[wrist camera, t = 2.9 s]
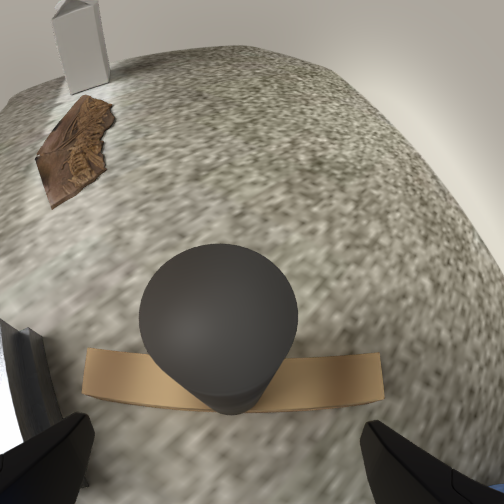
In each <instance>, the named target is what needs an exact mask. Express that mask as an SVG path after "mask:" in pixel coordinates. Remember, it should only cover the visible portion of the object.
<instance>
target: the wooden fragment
mask: <svg viewBox="0 0 504 504" xmlns="http://www.w3.org/2000/svg"><path fill="white" fill-rule="evenodd" d="M111 107H112V104H108V103H107V102H104V101H103V100H98V99H96V98H95V99H94V98H92V97H91V96H88V95H83V96H81V97H80V99H79V100H78V101H77V102H76V103H75V104H74V105H73V106H72V108H71V109H70V110H69V111H68V112H67V114H66V115H65V116H64V117H63V118H62V119H61V120H60V121H59V123H58V124H57V125H56V126H55V128H54V129H53V130H52V132H51V133H50V135H49V136H48V138H47V139H46V140H45V142H44V144H43V146H41V148H40V150H39V151H38V153H37V155H40V156H37V157H36V158H35V161H36V164H37V167H38V170H39V173H40V176H41V179H42V183H43V185H44V188H45V191H46V194H47V197H48V200H49V203H50V205H51V208H52V209H54V208H55V207H57V206H58V205H60V204H62V203H63V202H65V201H67V200H68V199H70V198H73V197H74V196H76V195H77V194H78V193H79V192H80V191H81V190H82V189H83V188H84V187H86V186H87V185H89V184H90V183H92V182H94V181H95V180H96V178H97V177H98V176H99V175H100V174H102V173H103V172H104V171H106V169H107V168H105V163H104V161H103V154H102V153H101V149H102V145H103V143H104V141H100V140H101V138H102V136H103V133H104V131H105V130H107V129H108V128H109V127H110V126H111V125H112V123H113V121H114V118H115V117H114V116H113V115H112V113H111V111H110V108H111Z"/></svg>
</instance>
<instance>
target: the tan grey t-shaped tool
mask: <svg viewBox="0 0 504 504" xmlns="http://www.w3.org/2000/svg"><path fill="white" fill-rule="evenodd" d="M297 325H298V308H297V302H296V298H295V295H294V292H293V290H292V287H291V285H290V283H289V282H288V280H287V278H286V277H285V275H284V274H283V273H282V272H281V271H280V269H279V268H278V267H277V266H276V265H275V264H273V263H272V262H271V261H270V260H268V259H267V258H266V257H264V256H262V255H261V254H259V253H257V252H255V251H253V250H250V249H248V248H244V247H241V246H237V245H231V244H208V245H202V246H198V247H194V248H191V249H189V250H186V251H184V252H182V253H180V254H178V255H176V256H174V257H173V258H171V259H170V260H169V261H167V262H166V263H165V264H164V265H163V266H161V267H160V269H159V270H158V271H157V272H156V273H155V274H154V276H153V277H152V278H151V280H150V281H149V283H148V285H147V287H146V289H145V291H144V294H143V296H142V299H141V304H140V309H139V328H140V332H141V337H142V340H143V343H144V345H145V348H146V349H147V351H148V353H149V354H138V353H128V352H119V351H110V350H102V349H95V348H87V355H86V362H85V369H84V377H83V385H82V394H85V395H88V396H91V397H94V398H97V399H100V400H106V401H111V402H117V403H124V404H131V405H138V406H146V407H154V408H163V409H174V410H186V411H201V412H218V413H221V414H225V415H237V414H241V413H268V412H293V411H309V410H321V409H332V408H341V407H349V406H357V405H364V404H369V403H373V402H376V401H379V400H383V399H385V397H384V387H383V378H382V370H381V362H380V354H379V352H378V353H368V354H357V355H344V356H330V357H312V358H286V359H285V357H286V355H287V353H288V352H289V350H290V348H291V346H292V343H293V341H294V338H295V335H296V331H297Z"/></svg>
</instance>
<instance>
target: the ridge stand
mask: <svg viewBox="0 0 504 504" xmlns="http://www.w3.org/2000/svg"><path fill="white" fill-rule="evenodd" d="M61 420H63V419H62V416H61V413H60V410H59V406H58V403H57V400H56V396H55V393H54V389H53V385H52V381H51V377H50V373H49V369H48V364H47V360H46V355H45V350H44V345H43V340H42V336H41V335H39V334H38V333H36V332H35V331H33V330H32V329H30V328H29V327H28V328H25V329H23V330H21V331H18V330H16V329H15V328H13V327H12V326H10V325H9V324H8V323H6V322H5V321H3V320H2V319H0V454H2V453H3V454H4V452H6V451H8V450H10V449H12V448H14V447H15V446H17V445H19V444H21V443H23V442H24V441H26V440H28V439H30V438H32V437H33V436H35V435H37V434H39V433H40V432H42V431H44V430H46V429H47V428H49V427H51V426H53V425H54V424H56V423H58V422H60V421H61ZM85 487H89V485H88V483H87V481H86V479H85V476H84V479H83V482H82V484H81V487H80V489H81V488H85Z"/></svg>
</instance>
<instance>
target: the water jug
mask: <svg viewBox="0 0 504 504" xmlns="http://www.w3.org/2000/svg"><path fill="white" fill-rule="evenodd" d="M488 487H491V488H493V489H495V490H498V491H500V492H503V493H504V484H496V485H492V486H488Z"/></svg>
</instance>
